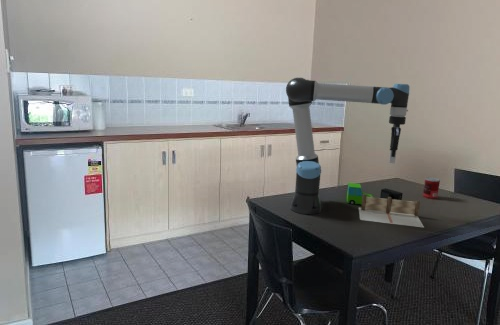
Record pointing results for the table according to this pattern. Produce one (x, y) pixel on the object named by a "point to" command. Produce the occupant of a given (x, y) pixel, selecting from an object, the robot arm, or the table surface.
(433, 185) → the canned food
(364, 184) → the table surface
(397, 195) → the digital camera
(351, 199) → the toy car
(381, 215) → the card
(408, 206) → the fence gate
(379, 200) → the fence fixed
